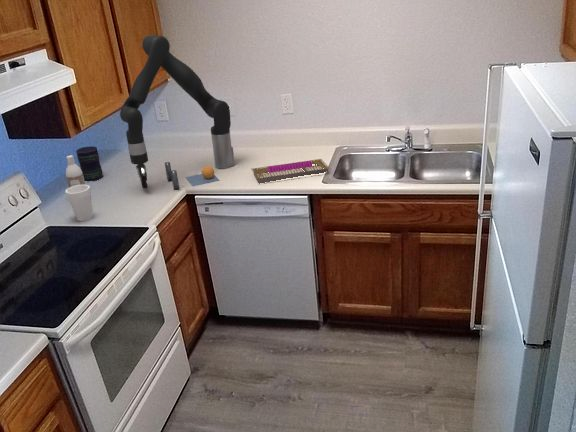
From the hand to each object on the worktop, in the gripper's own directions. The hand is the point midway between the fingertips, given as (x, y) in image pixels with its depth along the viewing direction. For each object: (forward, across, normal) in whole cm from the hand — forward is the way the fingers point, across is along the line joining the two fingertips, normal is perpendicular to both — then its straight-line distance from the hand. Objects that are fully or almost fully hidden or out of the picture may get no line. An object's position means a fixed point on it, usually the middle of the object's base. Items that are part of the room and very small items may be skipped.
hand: (144, 187), depth 240 cm
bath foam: (+2, +8, +28) cm, 29 cm away
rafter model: (+2, -18, -65) cm, 68 cm away
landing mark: (+2, 0, -27) cm, 27 cm away
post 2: (+2, -7, -13) cm, 15 cm away
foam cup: (+2, -16, +28) cm, 32 cm away
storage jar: (+2, +32, +20) cm, 38 cm away
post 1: (+2, +7, -13) cm, 15 cm away
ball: (-2, -1, -30) cm, 30 cm away
